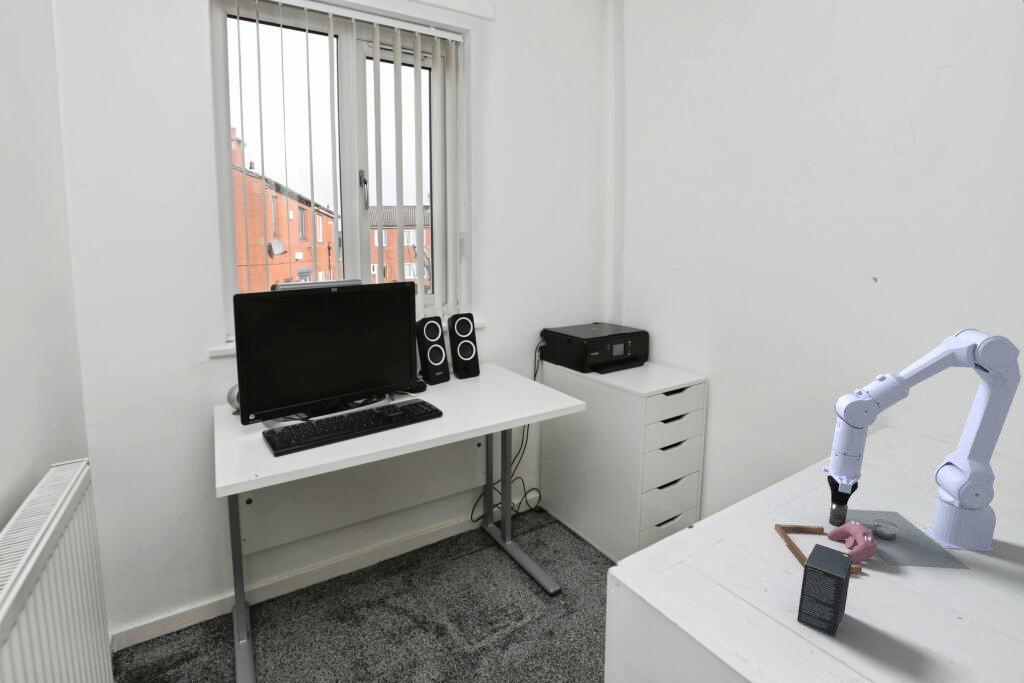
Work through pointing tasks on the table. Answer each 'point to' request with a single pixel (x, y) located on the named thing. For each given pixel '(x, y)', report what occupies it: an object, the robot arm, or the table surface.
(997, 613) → the table surface
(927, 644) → the table surface
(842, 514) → the crank
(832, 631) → the box
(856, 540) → the video game controller
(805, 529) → the bay
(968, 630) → the table surface
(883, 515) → the plate
